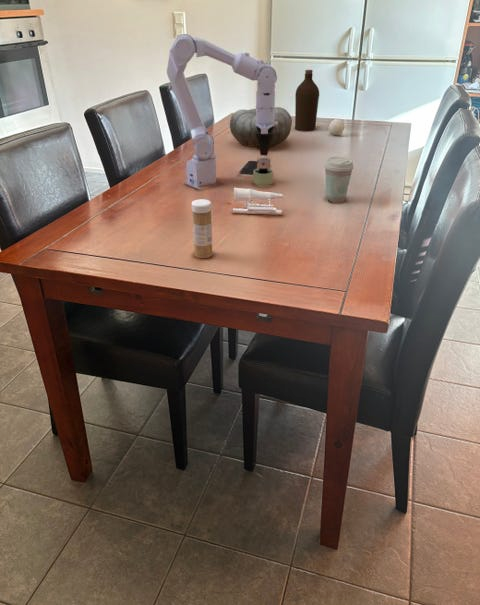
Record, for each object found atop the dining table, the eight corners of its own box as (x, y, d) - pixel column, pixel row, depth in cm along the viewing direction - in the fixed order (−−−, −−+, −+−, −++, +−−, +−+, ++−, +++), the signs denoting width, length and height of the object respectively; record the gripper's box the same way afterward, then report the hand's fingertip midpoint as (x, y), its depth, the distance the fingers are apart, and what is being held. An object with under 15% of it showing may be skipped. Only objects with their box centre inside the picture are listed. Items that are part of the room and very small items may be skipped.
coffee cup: (328, 205, 151) (332, 165, 145) (317, 196, 158) (320, 157, 152) (354, 203, 153) (359, 163, 147) (342, 193, 160) (346, 155, 154)
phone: (269, 162, 186) (260, 174, 173) (269, 165, 186) (260, 177, 174) (248, 160, 187) (238, 172, 175) (248, 163, 188) (238, 175, 175)
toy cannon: (281, 219, 147) (281, 211, 142) (233, 217, 148) (231, 209, 143) (283, 193, 149) (283, 185, 143) (236, 192, 150) (234, 183, 145)
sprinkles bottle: (203, 249, 126) (201, 197, 119) (216, 254, 123) (215, 201, 116) (190, 255, 123) (187, 202, 116) (203, 261, 120) (200, 207, 113)
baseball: (343, 133, 228) (344, 117, 225) (343, 137, 222) (345, 121, 218) (327, 132, 229) (329, 117, 225) (327, 136, 223) (329, 120, 219)
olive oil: (297, 132, 230) (301, 72, 217) (290, 127, 239) (293, 68, 226) (319, 131, 232) (324, 71, 219) (312, 125, 241) (316, 68, 228)
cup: (262, 189, 164) (263, 175, 162) (249, 184, 168) (249, 170, 166) (277, 184, 168) (277, 171, 165) (263, 180, 172) (263, 166, 170)
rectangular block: (269, 182, 167) (270, 159, 163) (256, 182, 167) (257, 159, 163) (269, 181, 168) (270, 158, 164) (256, 180, 168) (257, 157, 165)
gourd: (290, 147, 197) (285, 100, 190) (228, 155, 203) (221, 109, 196) (295, 138, 219) (291, 96, 212) (239, 146, 225) (233, 104, 218)
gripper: (278, 112, 151) (276, 158, 158) (278, 103, 163) (276, 146, 170) (254, 112, 151) (253, 157, 158) (256, 102, 163) (255, 145, 170)
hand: (264, 151), depth 164 cm, fingers open, 7 cm apart
